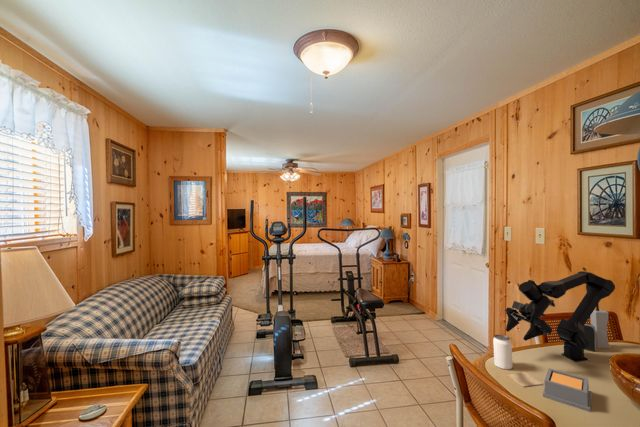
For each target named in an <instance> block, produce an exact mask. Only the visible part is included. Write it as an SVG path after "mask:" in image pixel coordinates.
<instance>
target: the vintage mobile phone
mask: <svg viewBox="0 0 640 427" xmlns="http://www.w3.org/2000/svg"><path fill="white" fill-rule="evenodd" d="M599 306H600V305H599V303H598V305H597V306H596V308H595V309H594V311H593V312H592V314H591V315H590V317H589V318H590V325H593V326H594V327H595V332H596V337H595V348H598V349H611V345H610V343H609V340H608V324H609V311H606V310H605V309H600V307H599Z"/></svg>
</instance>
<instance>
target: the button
mask: <svg viewBox="0 0 640 427" xmlns="http://www.w3.org/2000/svg"><path fill="white" fill-rule="evenodd" d="M551 381H553V382H556V383H559V384H563V385H566V386H570V387H573V388H577V389H580V390H583V380H580V379H576V378H572V377H569V376H565V375H562V374H558V373H554V372H553V374H552V377H551Z"/></svg>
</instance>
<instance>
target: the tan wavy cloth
mask: <svg viewBox="0 0 640 427" xmlns="http://www.w3.org/2000/svg"><path fill="white" fill-rule="evenodd" d="M506 376H507V377H509V378H510V379H511V380H512V381H514V382H516V383H517V384H518V385H520V386H521V387H523V388H526V387H537V386H543V385H544V383H542V382H541V381H540V380H538V379H536V378H535V377H533V376H532V375H531V374H528V373H527V372H526V371H522V372H516V373H507V374H506Z"/></svg>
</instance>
